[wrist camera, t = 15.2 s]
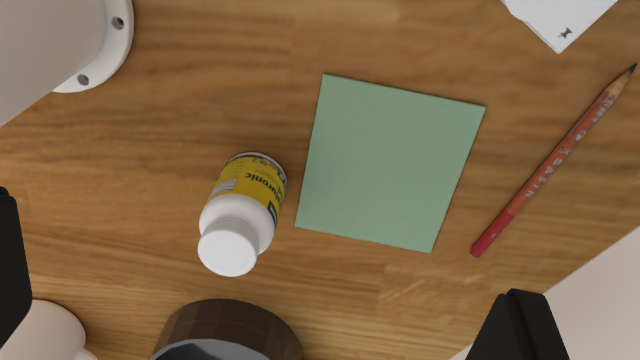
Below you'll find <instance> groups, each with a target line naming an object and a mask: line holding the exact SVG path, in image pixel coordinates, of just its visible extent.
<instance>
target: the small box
mask: <svg viewBox="0 0 640 360" xmlns="http://www.w3.org/2000/svg"><path fill="white" fill-rule="evenodd" d="M500 1H501V2H502V3H503V4H504V5H506V6H507V8H508V9H509V11H510V13H511V14H512V15H513V16H515V17H516V18H518V19H520V20H522V21H523V22H524V23H525V24H526V25H527V26H528V27H529V28H530V29H531V30H532V31H534V32H535V33H536V34H537V35H538V36H539V37H540V38H541V39H542V40H543V41H544V42H545V43H546V44H548V45H549V46H550V47H551V48H552V49H553V50H554V51H555V52H556V53H557V54H560V53H561V52H562V51H563V50H564V49H565V48H566V47H567V46H569V45H570V44H571V43H572V42H573V41H574V40H575V39H576V38H577V37H579V36H580V35H581V34H582V33H583V32H584V31H585V30H586V29H587V28H588V27H590V26H591V25H592V24H593V23H594V22H595V21H596V20H597V19H598V18H599V17H600V16H601V15H602V14H604V13H605V12H606V11H607V10H608V9H609V8H610V7H611V6H612V5H613V4H614V3H615V2H617V1H618V0H500Z"/></svg>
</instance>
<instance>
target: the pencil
mask: <svg viewBox="0 0 640 360" xmlns="http://www.w3.org/2000/svg"><path fill="white" fill-rule="evenodd" d="M636 66H637V63H636V64H635V65H633V66H632V67H631V68H630V69H628V70H627V71H626V72H625V73H623V74H622V75H621V76H620V77H619V78H617V79H616V80H615V81H614V82H613V83H611V84H610V85H609V86H608V87H607V88H606V89H605V90H604V91H603V92H602V94H601V95H600V96H599V97H598V98H597V100H596V101H595V102H594V103H593V104H592V105H591V107H590V108H589V109H588V110H587V111H586V113H585V114H584V115H583V116H582V117H581V119H580V120H579V121H578V122H577V123H576V125H575V126H574V127H573V128H572V129H571V131H570V132H569V133H568V134H567V135H566V136H565V138H564V139H563V140H562V141H561V142H560V144H559V145H558V146H557V147H556V148H555V150H554V151H553V152H552V153H551V154H550V156H549V157H548V158H547V159H546V160H545V162H544V163H543V164H542V165H541V166H540V167H539V169H538V170H537V171H536V172H535V173H534V175H533V176H532V177H531V178H530V179H529V181H528V182H527V183H526V184H525V185H524V187H523V188H522V189H521V190H520V191H519V192H518V194H517V195H516V196H515V197H514V198H513V200H512V201H511V202H510V203H509V204H508V206H507V207H506V208H505V209H504V210H503V212H502V213H501V214H500V215H499V216H498V218H497V219H496V220H495V221H494V222H493V223H492V225H491V226H490V227H489V228H488V229H487V231H486V232H485V233H484V234H483V235H482V237H481V238H480V239H479V240H478V241H477V243H476V244H475V245H474V246H473V247H472V248H471V250H470V253H471V254H472V255H473V256H474V257H476V258H479V257H480V256H481V254H482V253H483V252H484V251H485V250H486V249H487V248H488V246H489V245H490V244H491V243H492V242H493V241H494V239H495V238H496V237H497V236H498V235H499V234H500V233H501V231H502V230H503V229H504V228H505V227H506V226H507V224H508V223H509V222H510V221H511V220H512V219H513V218H514V216H515V215H516V214H517V213H518V212H519V211H520V209H521V208H522V207H523V206H524V205H525V204H526V203H527V201H528V200H529V199H530V198H531V197H532V196H533V194H534V193H535V192H536V191H537V190H538V189H539V188H540V186H541V185H542V184H543V183H544V182H545V181H546V179H547V178H548V177H549V176H550V175H551V174H552V173H553V171H554V170H555V169H556V168H557V167H558V166H559V164H560V163H561V162H562V161H563V160H564V159H565V158H566V156H567V155H568V154H569V153H570V152H571V151H572V149H573V148H574V147H575V146H576V145H577V144H578V143H579V141H580V140H581V139H582V138H583V137H584V136H585V134H586V133H587V132H588V131H589V130H590V129H591V128H592V126H593V125H594V124H595V123H596V122H597V121H598V119H599V118H600V117H601V116H602V115H603V114H604V113H605V111H606V110H607V109H608V108H609V107H610V106H611V104H612V103H613V102H614V101H615V100H616V99H617V97H618V95H619V94H620V92H621V90H622V89H623V87H624V85H625V84H626V82H627V80H628V79H629V77H630V76H631V74H632V72H633V71H634V69H635V67H636Z"/></svg>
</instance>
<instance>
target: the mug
mask: <svg viewBox="0 0 640 360" xmlns="http://www.w3.org/2000/svg"><path fill="white" fill-rule="evenodd" d="M85 341H86V336H85V331H84V328H83V326H82V324H81V323H80V321H79V320H78V319H77V318H76V317H75V316H74V315H73V314H72V313H71V312H69V311H68V310H67V309H65V308H63V307H61V306H59V305H57V304H55V303H52V302H48V301H44V300H32V305H31V308H30V310H29V312H28V314H27V316H26V317H25V318H24V320H23V321H22V322H21V323H20V325H19V326H18V327H17V329H16V330H15V331H14V333H13V334H12V335H11V337H10V338H9V339H8V340H7V342H6V343H5V344H4V346H3V347H2V348H1V350H0V360H98V359H97V357H96V356H95V355H94V354H92V353H91V352H90V351H88V350H86V349H84V345H85Z"/></svg>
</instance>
